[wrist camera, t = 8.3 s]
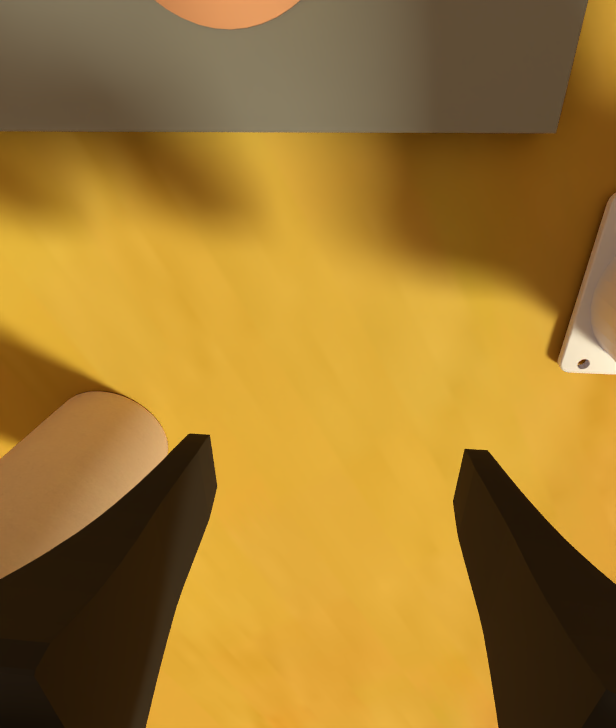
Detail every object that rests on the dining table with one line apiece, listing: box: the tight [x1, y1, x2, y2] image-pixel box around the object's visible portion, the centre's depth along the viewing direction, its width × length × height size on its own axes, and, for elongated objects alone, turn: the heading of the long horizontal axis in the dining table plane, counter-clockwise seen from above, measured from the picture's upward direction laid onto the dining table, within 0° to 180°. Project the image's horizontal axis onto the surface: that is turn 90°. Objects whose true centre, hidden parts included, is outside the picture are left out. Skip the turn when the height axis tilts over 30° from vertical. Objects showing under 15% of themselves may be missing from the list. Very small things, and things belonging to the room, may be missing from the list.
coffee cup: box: [0, 391, 168, 579], centre depth 20 cm, size 10×10×15 cm
